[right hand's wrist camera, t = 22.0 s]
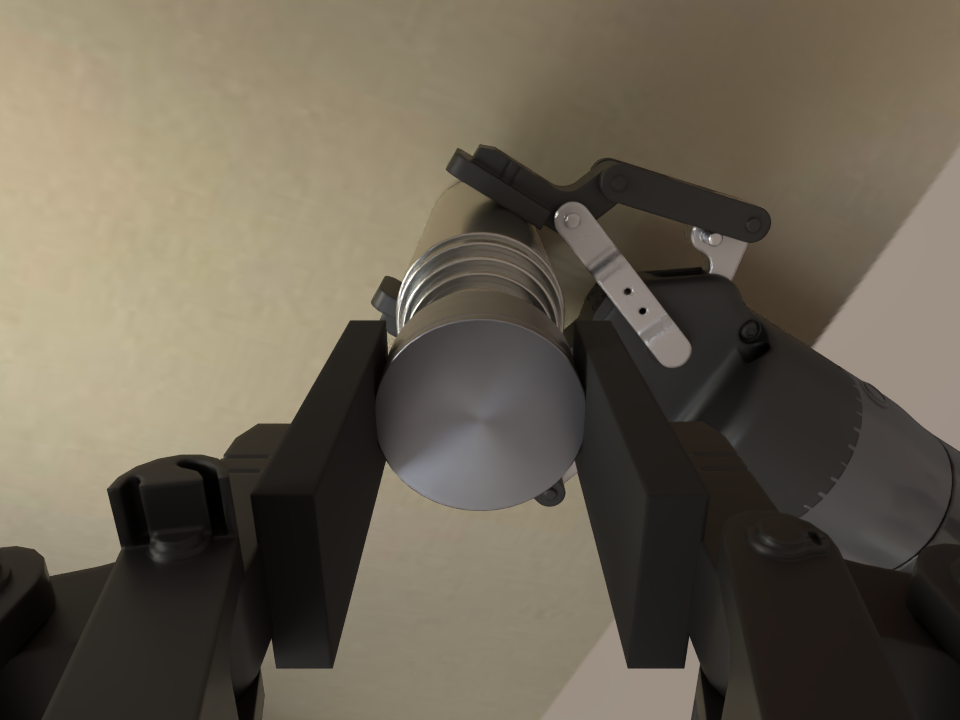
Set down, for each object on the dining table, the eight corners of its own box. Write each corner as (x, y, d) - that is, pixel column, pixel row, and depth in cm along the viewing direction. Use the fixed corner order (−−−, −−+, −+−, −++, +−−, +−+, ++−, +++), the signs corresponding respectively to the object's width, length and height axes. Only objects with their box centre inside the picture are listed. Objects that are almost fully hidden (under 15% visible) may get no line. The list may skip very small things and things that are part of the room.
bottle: (463, 156, 28) (441, 242, 12) (553, 216, 29) (646, 372, 13) (408, 247, 30) (320, 435, 13) (495, 301, 31) (512, 539, 14)
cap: (390, 280, 13) (376, 308, 12) (588, 298, 14) (604, 329, 12) (382, 455, 15) (369, 502, 13) (560, 469, 15) (571, 519, 13)
